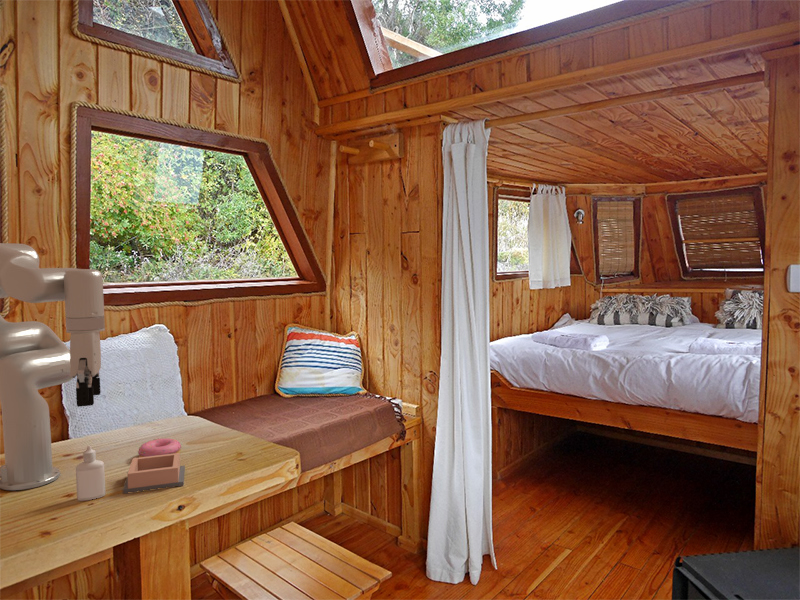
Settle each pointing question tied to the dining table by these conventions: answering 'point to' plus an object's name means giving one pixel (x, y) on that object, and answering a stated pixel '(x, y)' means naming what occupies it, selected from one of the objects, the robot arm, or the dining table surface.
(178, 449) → the doughnut
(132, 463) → the socket stand
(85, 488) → the squeeze bottle
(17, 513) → the dining table surface
